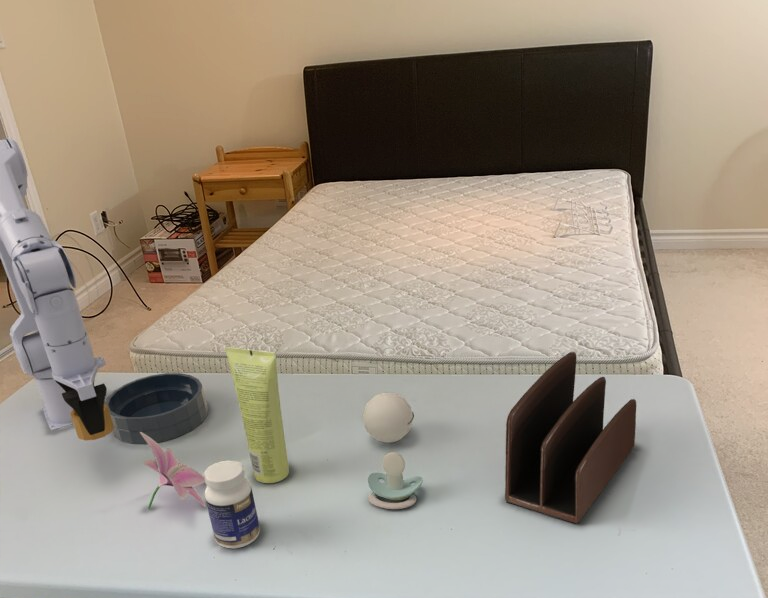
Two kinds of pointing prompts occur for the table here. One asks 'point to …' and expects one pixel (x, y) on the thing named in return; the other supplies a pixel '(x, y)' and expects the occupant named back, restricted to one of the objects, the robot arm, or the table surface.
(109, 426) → the ring
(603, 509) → the table surface
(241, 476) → the pill bottle
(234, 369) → the tube
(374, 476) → the pacifier
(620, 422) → the letter holder
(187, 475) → the lily
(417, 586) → the table surface
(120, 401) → the bowl
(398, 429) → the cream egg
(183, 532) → the table surface
